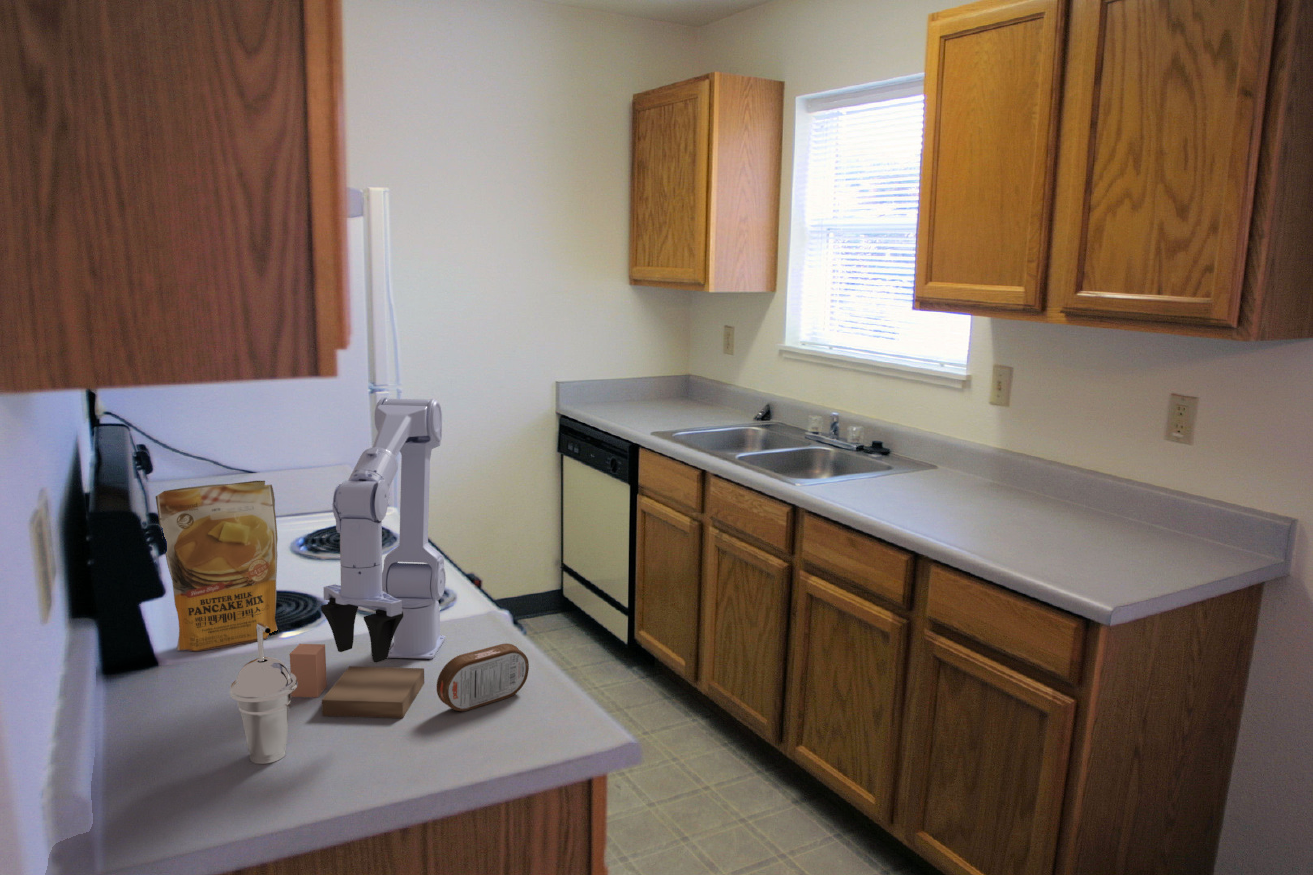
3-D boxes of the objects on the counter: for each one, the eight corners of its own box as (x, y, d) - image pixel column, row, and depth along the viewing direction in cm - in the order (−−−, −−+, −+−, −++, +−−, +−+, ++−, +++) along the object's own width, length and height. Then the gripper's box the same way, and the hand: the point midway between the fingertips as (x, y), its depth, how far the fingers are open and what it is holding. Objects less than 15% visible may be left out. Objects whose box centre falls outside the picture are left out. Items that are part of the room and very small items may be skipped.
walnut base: (350, 680, 152) (349, 666, 152) (424, 682, 152) (424, 668, 152) (322, 715, 141) (321, 699, 140) (402, 717, 140) (402, 702, 140)
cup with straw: (307, 738, 134) (301, 603, 130) (291, 772, 125) (283, 628, 121) (244, 741, 133) (236, 604, 129) (223, 775, 124) (213, 630, 120)
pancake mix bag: (165, 644, 165) (152, 487, 160) (280, 624, 176) (272, 476, 171) (169, 657, 160) (156, 496, 155) (288, 636, 170) (280, 483, 165)
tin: (521, 685, 152) (521, 635, 150) (532, 692, 150) (531, 642, 148) (435, 712, 142) (434, 659, 141) (445, 720, 140) (444, 666, 138)
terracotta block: (301, 685, 151) (299, 643, 149) (327, 686, 150) (325, 644, 149) (291, 696, 147) (289, 653, 145) (317, 697, 147) (315, 654, 145)
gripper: (305, 561, 137) (306, 652, 139) (373, 576, 129) (374, 673, 131) (345, 552, 143) (346, 640, 144) (412, 566, 135) (413, 659, 137)
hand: (362, 655), depth 138 cm, fingers open, 7 cm apart
